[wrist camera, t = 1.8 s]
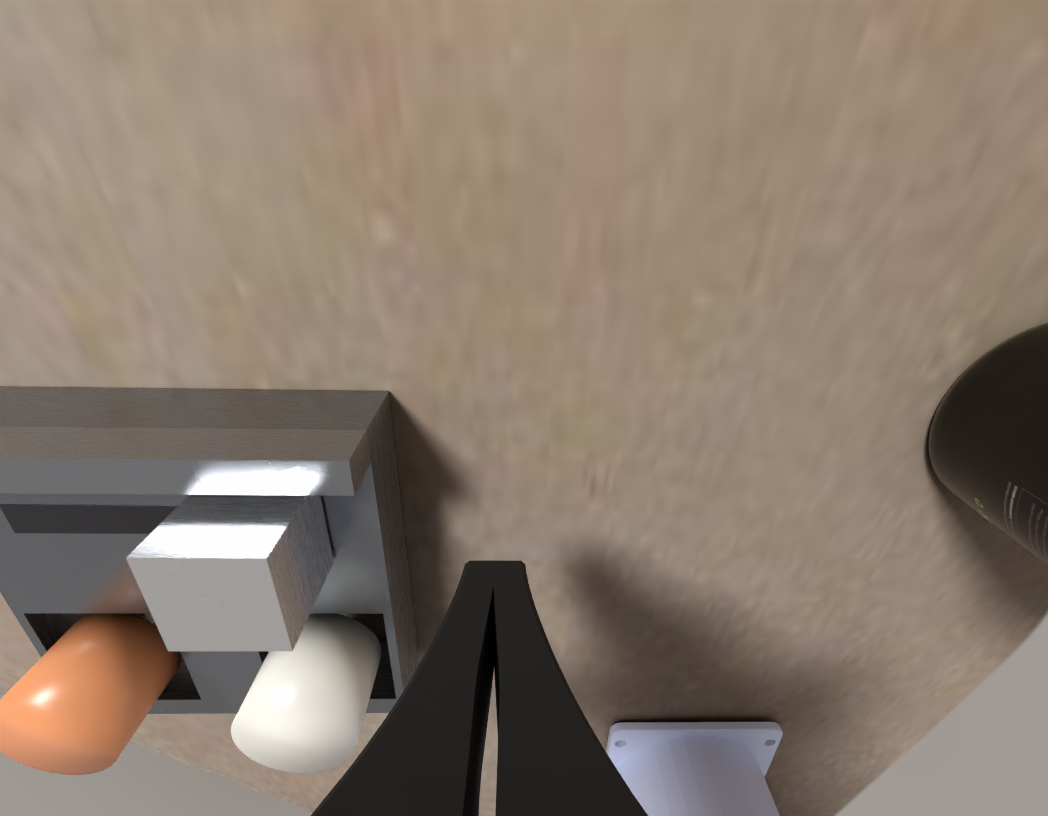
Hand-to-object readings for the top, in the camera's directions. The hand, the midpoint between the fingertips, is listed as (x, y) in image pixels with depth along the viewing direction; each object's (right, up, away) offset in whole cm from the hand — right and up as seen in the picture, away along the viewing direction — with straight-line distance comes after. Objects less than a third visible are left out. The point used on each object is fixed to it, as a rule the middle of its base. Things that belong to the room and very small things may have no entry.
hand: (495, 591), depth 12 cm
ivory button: (-6, -4, +5) cm, 9 cm away
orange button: (-13, -4, +5) cm, 15 cm away
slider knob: (-6, +1, +2) cm, 7 cm away
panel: (-10, 0, +6) cm, 11 cm away
